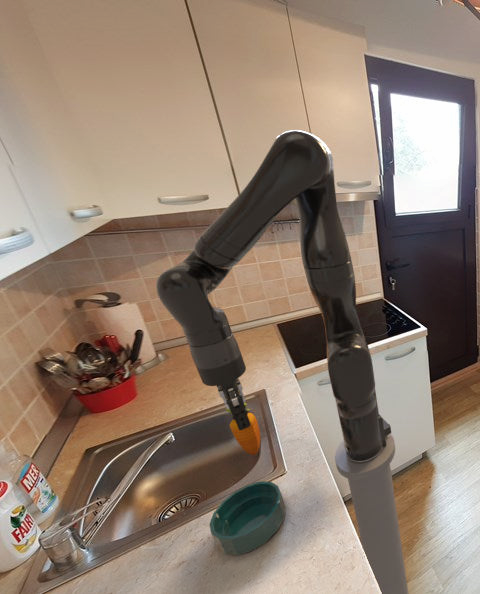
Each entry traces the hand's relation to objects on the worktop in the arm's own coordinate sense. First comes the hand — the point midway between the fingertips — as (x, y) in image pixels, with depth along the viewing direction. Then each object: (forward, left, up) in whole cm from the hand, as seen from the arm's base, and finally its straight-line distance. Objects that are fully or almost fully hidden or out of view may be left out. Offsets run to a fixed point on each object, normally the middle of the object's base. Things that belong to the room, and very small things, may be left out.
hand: (242, 420), depth 74 cm
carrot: (0, 0, -11) cm, 11 cm away
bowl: (+4, +12, -18) cm, 22 cm away
